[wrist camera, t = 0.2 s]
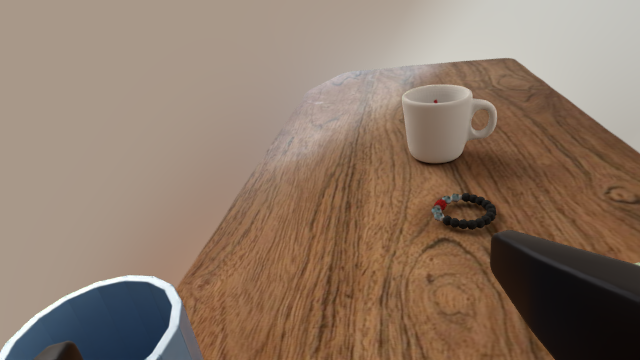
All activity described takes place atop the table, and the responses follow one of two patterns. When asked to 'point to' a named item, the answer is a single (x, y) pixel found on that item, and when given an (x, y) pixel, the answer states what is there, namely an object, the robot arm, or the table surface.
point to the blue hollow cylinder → (112, 323)
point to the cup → (442, 121)
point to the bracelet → (463, 223)
